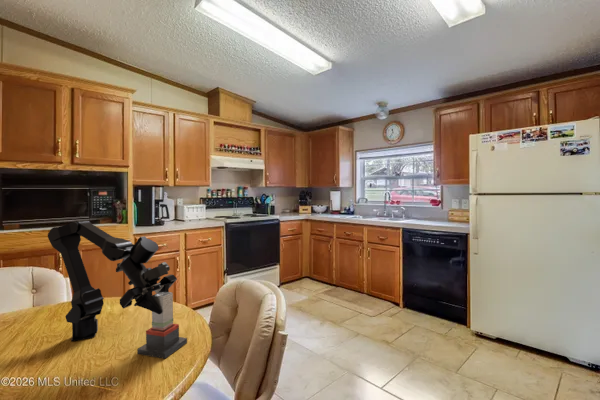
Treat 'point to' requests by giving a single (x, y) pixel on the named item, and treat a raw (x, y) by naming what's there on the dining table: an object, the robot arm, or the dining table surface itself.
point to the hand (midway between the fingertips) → (166, 310)
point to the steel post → (163, 312)
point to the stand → (162, 342)
